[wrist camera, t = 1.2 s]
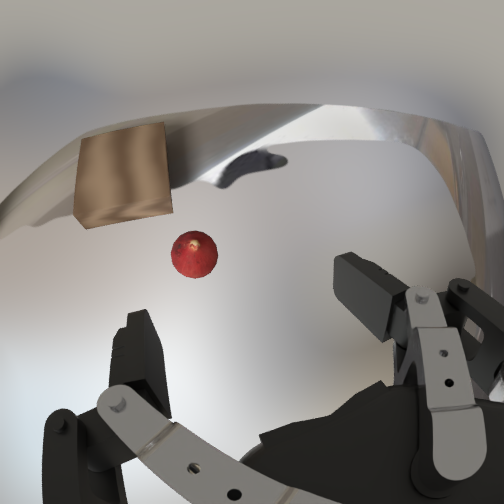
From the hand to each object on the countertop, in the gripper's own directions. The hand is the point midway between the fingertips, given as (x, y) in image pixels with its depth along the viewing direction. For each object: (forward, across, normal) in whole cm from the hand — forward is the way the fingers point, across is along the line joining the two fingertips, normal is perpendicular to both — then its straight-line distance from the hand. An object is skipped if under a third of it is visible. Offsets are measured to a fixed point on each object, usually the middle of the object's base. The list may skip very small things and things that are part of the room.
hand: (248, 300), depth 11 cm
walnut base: (+36, +9, -2) cm, 37 cm away
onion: (+26, +1, +10) cm, 28 cm away
